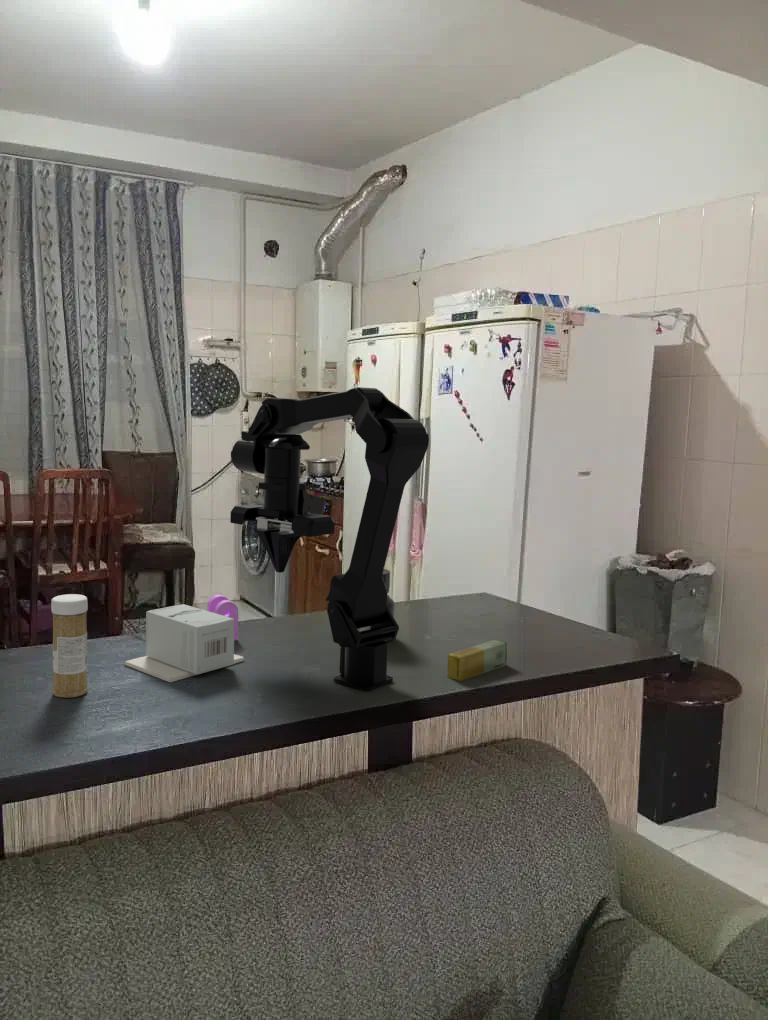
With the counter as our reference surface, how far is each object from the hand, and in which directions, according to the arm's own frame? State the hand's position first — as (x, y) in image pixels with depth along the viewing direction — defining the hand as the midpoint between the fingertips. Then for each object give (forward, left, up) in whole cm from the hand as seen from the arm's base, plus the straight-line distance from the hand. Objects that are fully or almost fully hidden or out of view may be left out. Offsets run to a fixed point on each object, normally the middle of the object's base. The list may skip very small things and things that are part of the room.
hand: (280, 572), depth 132 cm
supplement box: (-3, +15, -9) cm, 18 cm away
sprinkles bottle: (+5, +34, -13) cm, 37 cm away
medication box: (-30, -14, -14) cm, 35 cm away
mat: (+5, +15, -13) cm, 20 cm away
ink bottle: (-6, -16, -13) cm, 22 cm away
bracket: (+14, +6, -13) cm, 20 cm away
